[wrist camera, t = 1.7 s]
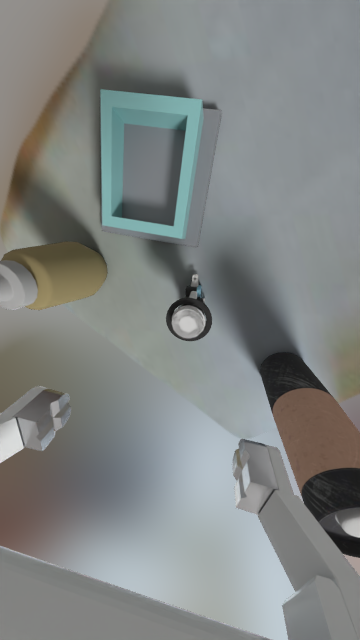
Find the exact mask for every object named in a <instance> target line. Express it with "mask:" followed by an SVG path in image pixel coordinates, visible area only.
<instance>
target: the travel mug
mask: <svg viewBox="0 0 360 640" xmlns="http://www.w3.org/2000/svg"><path fill="white" fill-rule="evenodd" d="M260 373H261V377H262V381H263V384H264V387H265V391H266V394H267V397H268V400H269V404H270V407H271V410H272V414H273V417H274V420H275V423H276V425H277V428H278V431H279V434H280V437H281V439H282V442H283V445H284V447H285V451H286V454H287V456H288V459H289V462H290V465H291V468H292V470H293V473H294V476H295V479H296V481H297V485H298V487H299V490H300V493H301V496H302V498H303V501H304V504H305V506H306V507H307V508H308V510H309V511H310V512H311V514H312V515H313V516H314V517H315V519H316V520H317V521H318V523H319V524H320V525H321V527H322V528H323V529H324V530H325V532H326V533H327V534H328V536H329V537H330V538H331V540H332V541H333V542H334V543H335V545H336V546H337V547H338V549H339V550H340V551H341V553H342V554H346V555H349V556H353V557H358V558H360V432H359V431H358V429H357V428H356V427H355V425H354V424H353V423H352V421H351V420H350V419H349V418H348V416H347V415H346V413H345V412H344V411H343V409H342V408H341V407H340V405H339V404H338V403H337V401H336V400H335V399H334V398H333V396H332V395H331V394H330V393H329V392H328V390H327V389H326V388H325V387H324V386H323V384H322V383H321V382H320V381H319V379H318V378H317V377H316V376H315V375H314V373H313V372H312V371H311V370H310V369H309V367H308V366H307V365H306V364H305V363H304V361H303V360H302V359H301V358H300V357H298V356H297V355H294V354H292V353H286V352H282V353H276V354H273V355H271V356H269V357H268V358H267V359H266V360H265V361H264V362H263V363H262V365H261V369H260Z"/></svg>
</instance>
